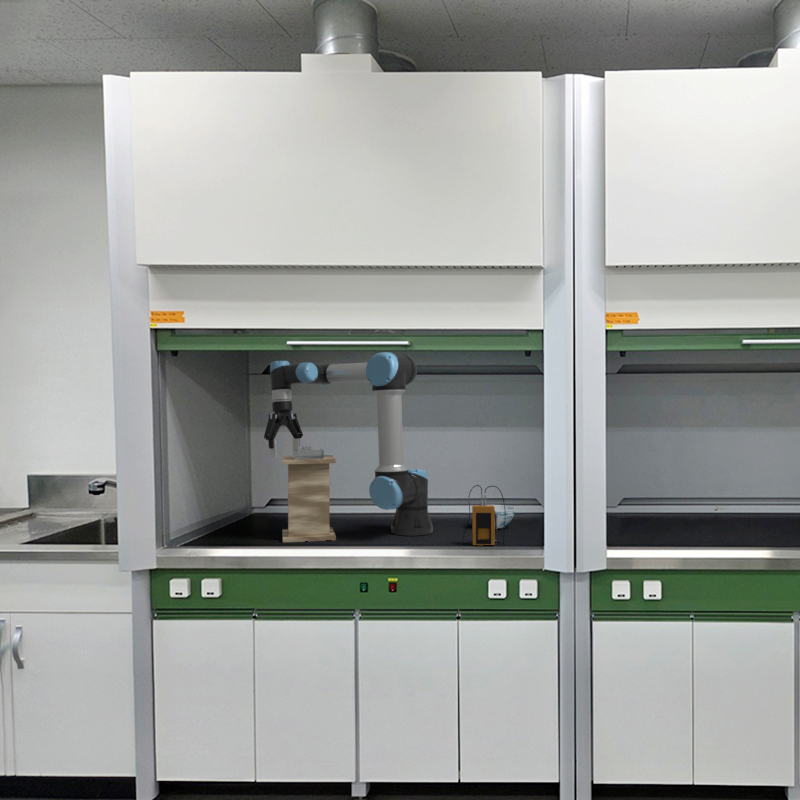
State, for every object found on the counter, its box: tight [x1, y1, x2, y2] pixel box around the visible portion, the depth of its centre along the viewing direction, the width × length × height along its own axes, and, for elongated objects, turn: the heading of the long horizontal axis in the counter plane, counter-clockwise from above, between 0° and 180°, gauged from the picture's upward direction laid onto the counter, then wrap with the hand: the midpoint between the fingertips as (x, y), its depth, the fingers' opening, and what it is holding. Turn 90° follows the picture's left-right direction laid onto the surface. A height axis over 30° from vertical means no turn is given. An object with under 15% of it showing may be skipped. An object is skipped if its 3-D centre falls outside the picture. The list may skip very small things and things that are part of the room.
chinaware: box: [492, 504, 516, 529], centre depth 250 cm, size 15×15×8 cm
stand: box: [281, 454, 337, 543], centre depth 236 cm, size 16×18×28 cm
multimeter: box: [460, 484, 506, 546], centre depth 225 cm, size 15×10×20 cm
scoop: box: [294, 446, 325, 459], centre depth 242 cm, size 27×10×3 cm, turn 10°
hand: (285, 456), depth 256 cm, fingers open, 13 cm apart
